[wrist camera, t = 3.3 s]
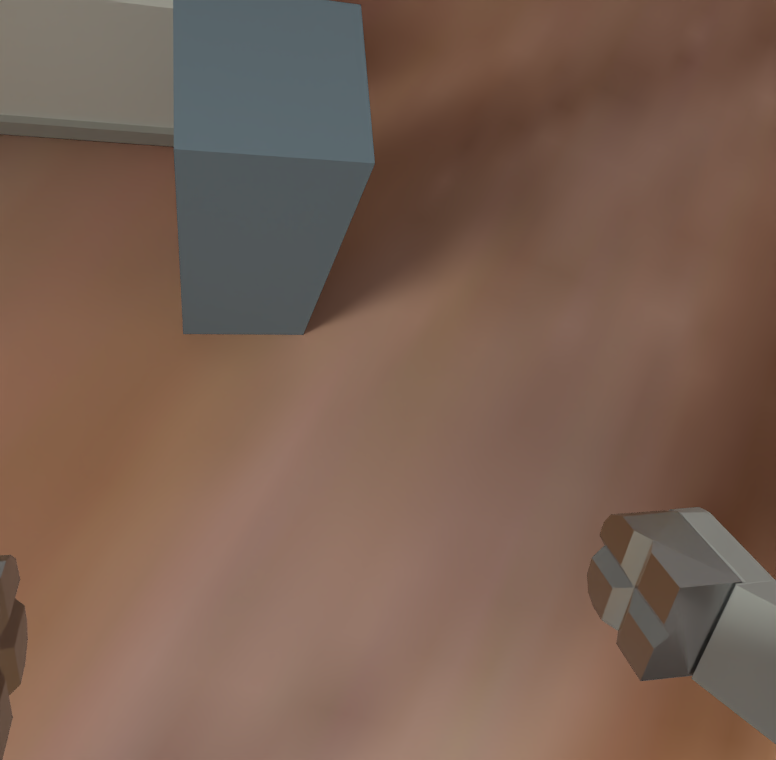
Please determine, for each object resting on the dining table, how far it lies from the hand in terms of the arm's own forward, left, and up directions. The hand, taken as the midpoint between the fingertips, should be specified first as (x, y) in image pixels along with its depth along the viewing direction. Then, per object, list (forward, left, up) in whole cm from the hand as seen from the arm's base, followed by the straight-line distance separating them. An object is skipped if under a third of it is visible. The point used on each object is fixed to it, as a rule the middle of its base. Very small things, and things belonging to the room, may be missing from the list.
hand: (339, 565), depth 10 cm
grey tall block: (0, +11, -16) cm, 20 cm away
